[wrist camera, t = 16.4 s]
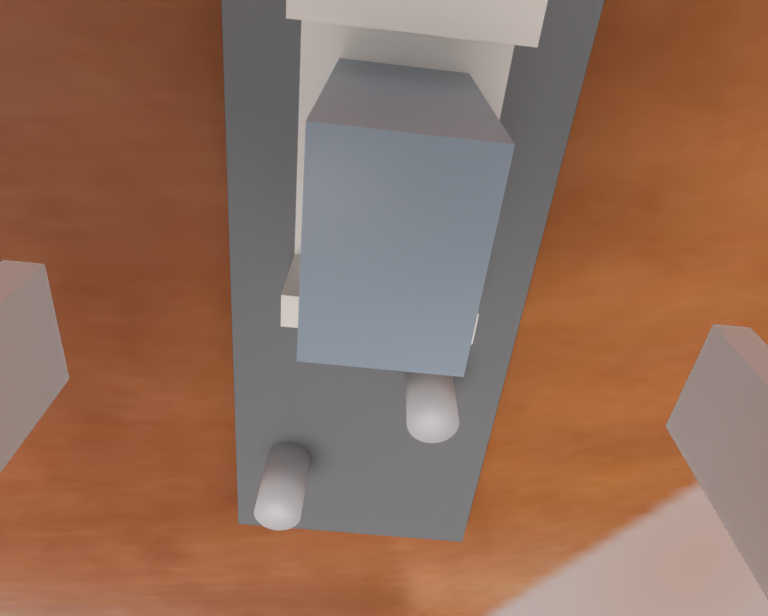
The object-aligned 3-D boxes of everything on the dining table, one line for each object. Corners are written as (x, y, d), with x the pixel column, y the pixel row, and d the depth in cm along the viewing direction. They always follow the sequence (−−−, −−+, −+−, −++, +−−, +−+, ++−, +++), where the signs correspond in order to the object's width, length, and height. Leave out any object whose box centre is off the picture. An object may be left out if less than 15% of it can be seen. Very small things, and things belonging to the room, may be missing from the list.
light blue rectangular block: (328, 227, 26) (296, 361, 17) (339, 57, 22) (305, 120, 14) (440, 239, 26) (463, 377, 18) (469, 73, 23) (515, 144, 14)
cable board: (242, 508, 38) (222, 582, 33) (226, -97, 21) (182, -111, 17) (460, 525, 38) (469, 601, 34) (606, -50, 22) (661, -51, 17)
